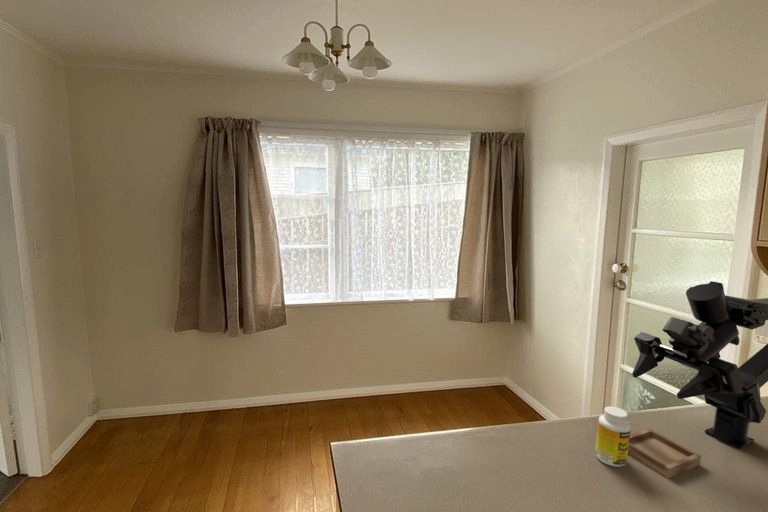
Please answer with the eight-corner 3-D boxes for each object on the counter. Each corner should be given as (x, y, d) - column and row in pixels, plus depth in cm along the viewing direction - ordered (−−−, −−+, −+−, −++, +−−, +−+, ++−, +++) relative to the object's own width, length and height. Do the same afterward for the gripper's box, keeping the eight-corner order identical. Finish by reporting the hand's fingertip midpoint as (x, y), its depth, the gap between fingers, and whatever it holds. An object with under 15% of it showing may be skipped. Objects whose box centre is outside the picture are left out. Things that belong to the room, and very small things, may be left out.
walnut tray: (648, 436, 86) (649, 428, 86) (699, 465, 77) (701, 455, 77) (617, 447, 82) (618, 438, 82) (668, 478, 73) (669, 468, 73)
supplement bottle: (617, 472, 74) (623, 422, 73) (589, 456, 79) (594, 408, 77) (632, 462, 77) (638, 413, 76) (603, 447, 82) (608, 401, 81)
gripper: (652, 297, 86) (601, 338, 84) (752, 322, 69) (692, 375, 66) (666, 335, 90) (618, 376, 87) (766, 369, 72) (710, 422, 69)
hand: (654, 385), depth 77 cm, fingers open, 9 cm apart
